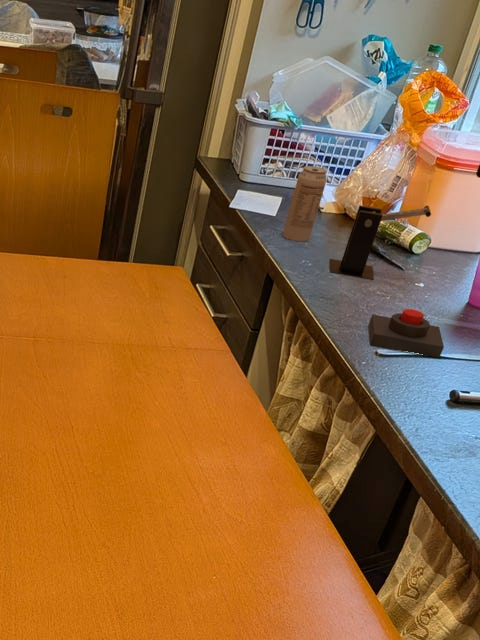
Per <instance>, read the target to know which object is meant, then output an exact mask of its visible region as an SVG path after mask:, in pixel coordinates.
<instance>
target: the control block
mask: <svg viewBox="0 0 480 640" xmlns="http://www.w3.org/2000/svg"><path fill="white" fill-rule="evenodd" d="M402 313H403V312H402ZM402 313H401V312H400V313H399V312H396V313H394V314H392V315H391V317H389V316H384V315H379V314H371V317H370V319H369V323H368V325H367V327H368V328H367V329H368V339H369V346H371V347H377V348H382V349H387V350H392V349H393V350H392V351H397V350H401V351H400V352H403V351H408V352H414V353H419V354H423V355H422V356H424V355H427V356H426V357H429V356H431V358H435V357H436V359H440V357H441V355H442V353H443V350H444V348H445V346H444V341H443V338H442V333H441V330H440V326H438V325H437V326H436V325H431V323H430V322H429V320H427V319H425V318H424V317H423V320H422V322H421V325H412V324H407V323H405V322H402V321H401V320H400V318H401V316H402ZM408 352H407V353H408ZM419 354H418V355H419Z"/></svg>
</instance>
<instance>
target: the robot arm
mask: <svg viewBox="0 0 480 640" xmlns="http://www.w3.org/2000/svg"><path fill="white" fill-rule="evenodd" d="M475 175H476V177H477V178H480V164H479V165H478V167H477V170H476V173H475Z"/></svg>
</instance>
